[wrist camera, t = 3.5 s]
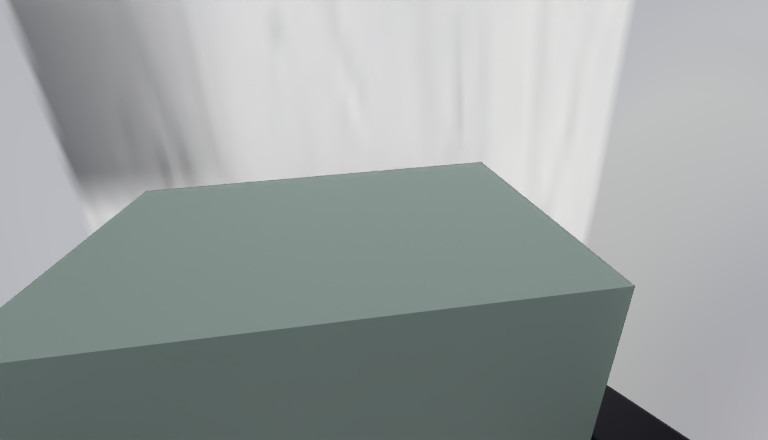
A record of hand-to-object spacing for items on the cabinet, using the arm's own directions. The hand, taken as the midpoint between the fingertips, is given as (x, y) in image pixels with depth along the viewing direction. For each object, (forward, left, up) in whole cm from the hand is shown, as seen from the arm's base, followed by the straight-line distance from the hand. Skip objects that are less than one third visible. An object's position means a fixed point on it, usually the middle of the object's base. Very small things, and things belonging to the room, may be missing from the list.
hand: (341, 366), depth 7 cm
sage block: (0, 0, -1) cm, 1 cm away
